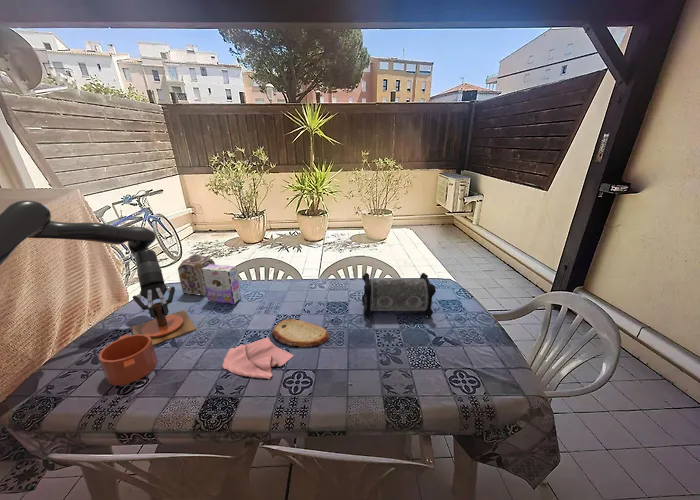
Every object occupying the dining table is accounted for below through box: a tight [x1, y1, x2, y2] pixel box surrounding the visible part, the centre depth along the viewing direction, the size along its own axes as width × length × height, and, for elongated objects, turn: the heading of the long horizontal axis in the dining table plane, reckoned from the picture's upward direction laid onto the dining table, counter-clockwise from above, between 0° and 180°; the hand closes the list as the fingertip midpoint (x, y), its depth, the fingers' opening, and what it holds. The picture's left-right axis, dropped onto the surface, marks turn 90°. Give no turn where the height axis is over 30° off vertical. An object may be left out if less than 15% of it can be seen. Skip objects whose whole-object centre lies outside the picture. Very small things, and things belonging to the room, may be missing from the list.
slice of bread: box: [271, 318, 330, 348], centre depth 100 cm, size 18×18×4 cm
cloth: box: [221, 336, 295, 380], centre depth 88 cm, size 20×22×2 cm
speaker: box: [361, 272, 437, 319], centre depth 115 cm, size 15×29×15 cm, turn 91°
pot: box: [98, 333, 158, 386], centre depth 83 cm, size 12×18×8 cm
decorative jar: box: [177, 254, 216, 296], centre depth 131 cm, size 12×12×18 cm
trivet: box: [131, 309, 197, 347], centre depth 104 cm, size 18×18×1 cm
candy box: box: [202, 264, 242, 305], centre depth 122 cm, size 14×6×16 cm, turn 77°
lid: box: [141, 301, 183, 337], centre depth 102 cm, size 13×13×10 cm
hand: (160, 316), depth 100 cm, fingers closed on lid, 3 cm apart
